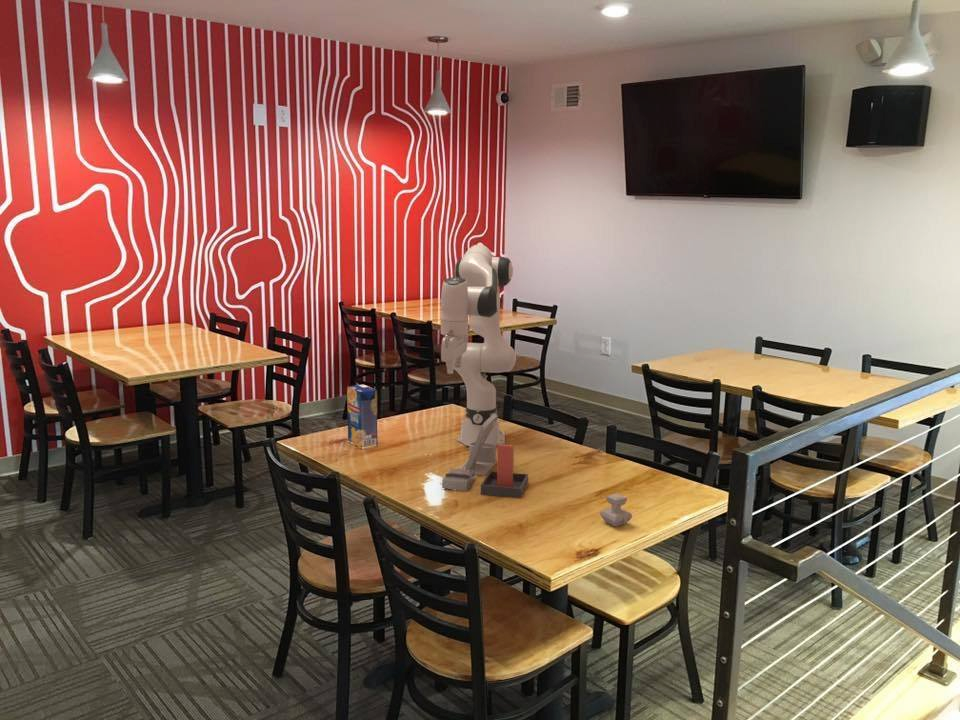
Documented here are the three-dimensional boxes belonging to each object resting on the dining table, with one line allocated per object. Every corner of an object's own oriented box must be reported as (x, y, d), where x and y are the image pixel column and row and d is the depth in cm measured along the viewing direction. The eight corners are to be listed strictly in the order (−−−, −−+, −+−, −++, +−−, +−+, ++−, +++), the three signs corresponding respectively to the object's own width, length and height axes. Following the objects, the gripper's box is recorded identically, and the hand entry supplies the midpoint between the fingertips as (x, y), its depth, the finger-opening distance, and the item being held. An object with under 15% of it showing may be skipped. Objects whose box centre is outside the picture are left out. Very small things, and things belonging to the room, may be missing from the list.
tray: (489, 479, 259) (489, 470, 259) (528, 483, 257) (528, 474, 256) (480, 494, 246) (480, 485, 245) (520, 498, 243) (521, 488, 243)
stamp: (634, 526, 223) (636, 499, 221) (617, 531, 219) (619, 503, 218) (613, 516, 230) (614, 489, 229) (596, 520, 227) (597, 493, 225)
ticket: (497, 485, 252) (498, 444, 250) (512, 486, 251) (513, 445, 249) (496, 486, 251) (497, 445, 248) (512, 488, 250) (513, 446, 247)
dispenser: (451, 476, 262) (451, 466, 261) (474, 478, 260) (475, 468, 259) (442, 488, 250) (442, 478, 249) (466, 491, 248) (466, 480, 248)
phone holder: (471, 458, 281) (471, 410, 278) (497, 461, 279) (499, 412, 275) (456, 473, 265) (457, 422, 262) (484, 476, 262) (485, 425, 259)
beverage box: (363, 439, 302) (363, 384, 298) (377, 446, 293) (377, 389, 289) (348, 442, 298) (347, 386, 294) (361, 449, 289) (360, 392, 285)
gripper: (455, 334, 239) (455, 377, 242) (471, 324, 259) (470, 365, 261) (436, 333, 240) (436, 376, 243) (452, 323, 260) (452, 364, 263)
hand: (454, 370), depth 252 cm, fingers open, 8 cm apart
